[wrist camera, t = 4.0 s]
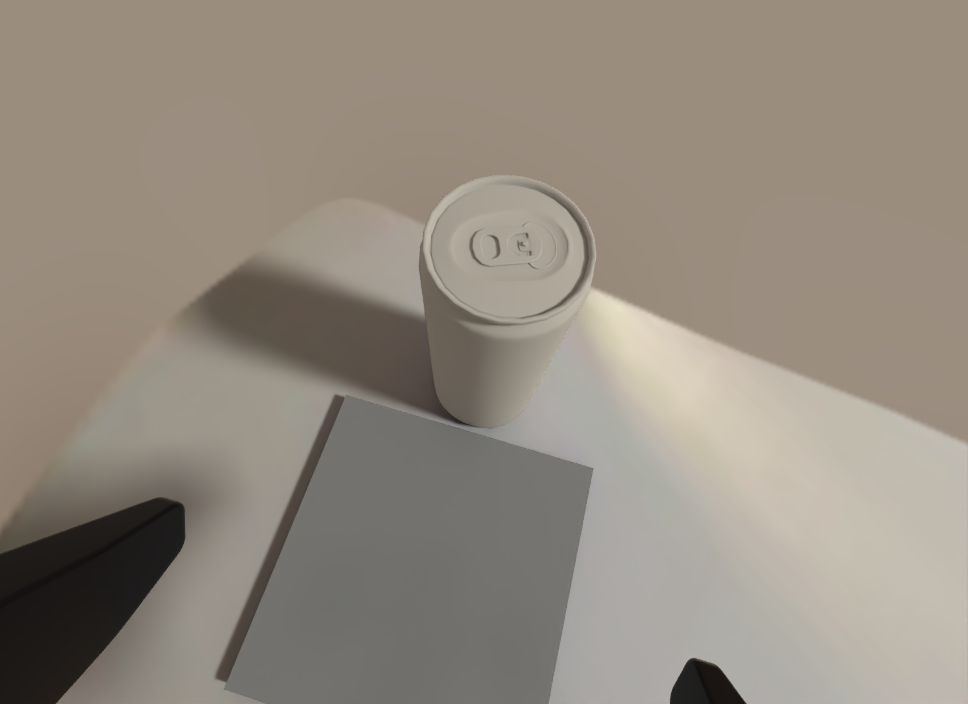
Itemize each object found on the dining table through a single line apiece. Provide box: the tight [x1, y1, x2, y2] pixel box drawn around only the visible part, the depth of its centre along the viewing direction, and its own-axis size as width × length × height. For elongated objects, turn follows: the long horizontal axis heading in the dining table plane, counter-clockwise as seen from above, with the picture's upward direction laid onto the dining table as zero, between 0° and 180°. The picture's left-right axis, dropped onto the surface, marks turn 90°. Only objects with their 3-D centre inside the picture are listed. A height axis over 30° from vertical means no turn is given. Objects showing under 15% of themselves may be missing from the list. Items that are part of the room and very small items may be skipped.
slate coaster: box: [224, 395, 593, 704], centre depth 20 cm, size 12×12×1 cm
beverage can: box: [419, 175, 596, 428], centre depth 18 cm, size 5×5×12 cm
